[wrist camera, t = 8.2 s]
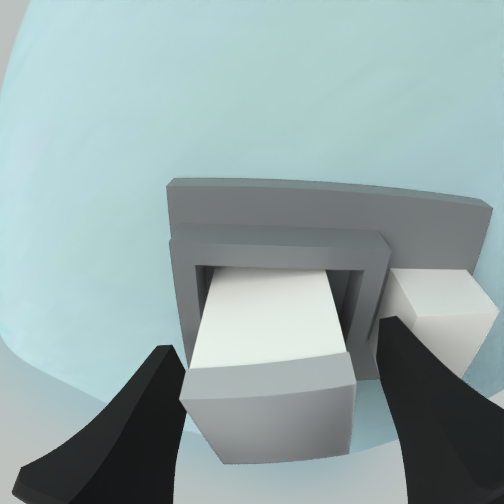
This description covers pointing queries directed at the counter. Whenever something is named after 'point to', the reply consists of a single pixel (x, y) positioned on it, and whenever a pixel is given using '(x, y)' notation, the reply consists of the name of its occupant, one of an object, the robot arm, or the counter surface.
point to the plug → (271, 368)
